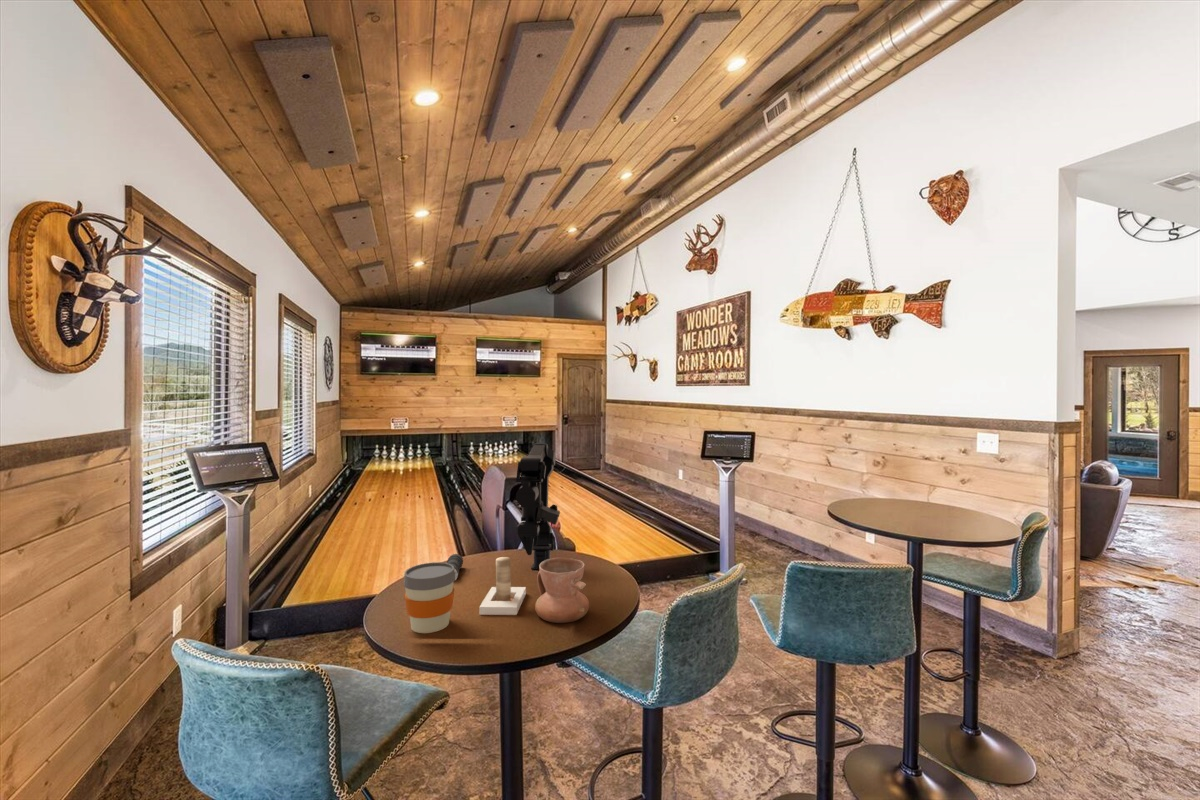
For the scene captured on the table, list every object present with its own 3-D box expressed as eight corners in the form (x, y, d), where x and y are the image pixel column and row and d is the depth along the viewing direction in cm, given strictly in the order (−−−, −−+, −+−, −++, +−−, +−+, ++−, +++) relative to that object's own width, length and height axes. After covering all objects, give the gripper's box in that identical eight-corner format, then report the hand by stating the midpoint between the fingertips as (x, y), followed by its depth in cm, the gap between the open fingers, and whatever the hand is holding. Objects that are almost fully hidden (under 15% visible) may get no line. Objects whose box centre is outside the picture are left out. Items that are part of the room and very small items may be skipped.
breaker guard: (491, 597, 151) (491, 586, 151) (525, 597, 151) (525, 587, 151) (479, 618, 137) (479, 607, 137) (516, 618, 137) (516, 607, 137)
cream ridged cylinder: (494, 600, 145) (494, 558, 145) (508, 597, 147) (508, 556, 146) (498, 605, 141) (497, 562, 141) (512, 603, 143) (512, 560, 143)
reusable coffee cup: (437, 613, 140) (437, 558, 140) (465, 626, 132) (465, 568, 132) (394, 630, 131) (393, 571, 130) (421, 645, 123) (420, 583, 122)
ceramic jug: (603, 618, 137) (603, 565, 137) (562, 636, 127) (561, 579, 126) (560, 598, 150) (559, 550, 149) (519, 614, 140) (518, 562, 139)
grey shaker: (447, 568, 177) (447, 552, 177) (464, 567, 177) (463, 551, 177) (439, 584, 162) (439, 567, 161) (457, 583, 162) (457, 566, 162)
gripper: (554, 505, 147) (554, 560, 147) (561, 492, 165) (561, 541, 166) (515, 506, 147) (516, 560, 147) (526, 493, 166) (527, 541, 166)
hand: (532, 550), depth 157 cm, fingers open, 9 cm apart
